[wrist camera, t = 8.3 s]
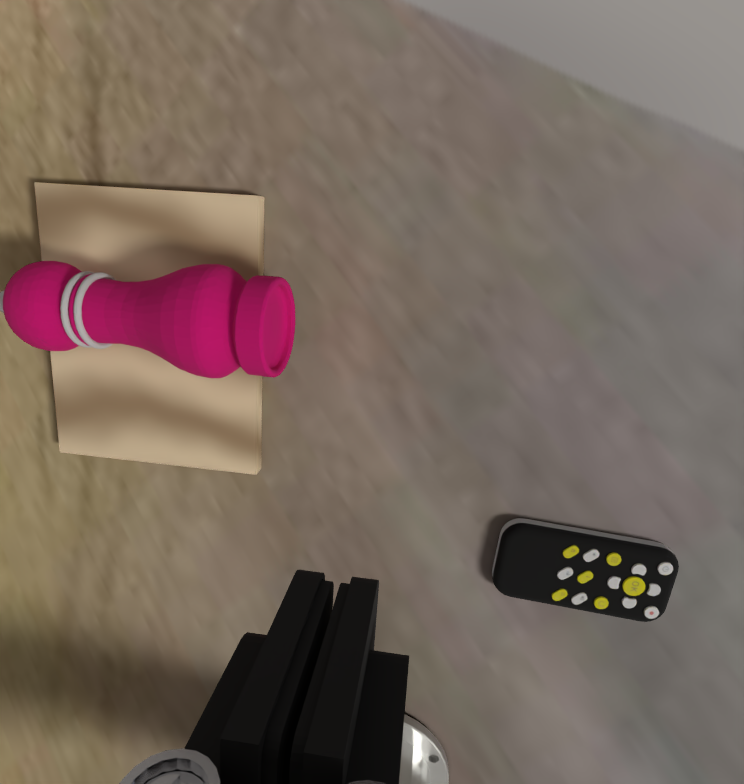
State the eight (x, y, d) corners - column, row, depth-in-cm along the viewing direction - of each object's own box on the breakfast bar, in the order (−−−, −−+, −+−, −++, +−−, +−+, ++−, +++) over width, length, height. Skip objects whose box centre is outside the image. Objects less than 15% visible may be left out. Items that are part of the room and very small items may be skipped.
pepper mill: (275, 408, 35) (0, 375, 38) (304, 327, 39) (55, 304, 42) (248, 328, 29) (-73, 297, 32) (286, 244, 33) (0, 224, 36)
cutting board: (261, 468, 42) (256, 474, 41) (69, 446, 44) (59, 452, 43) (264, 197, 37) (258, 195, 36) (46, 184, 38) (34, 182, 37)
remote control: (503, 511, 41) (506, 524, 39) (676, 542, 40) (687, 556, 38) (487, 581, 43) (489, 597, 41) (653, 612, 42) (663, 630, 40)
